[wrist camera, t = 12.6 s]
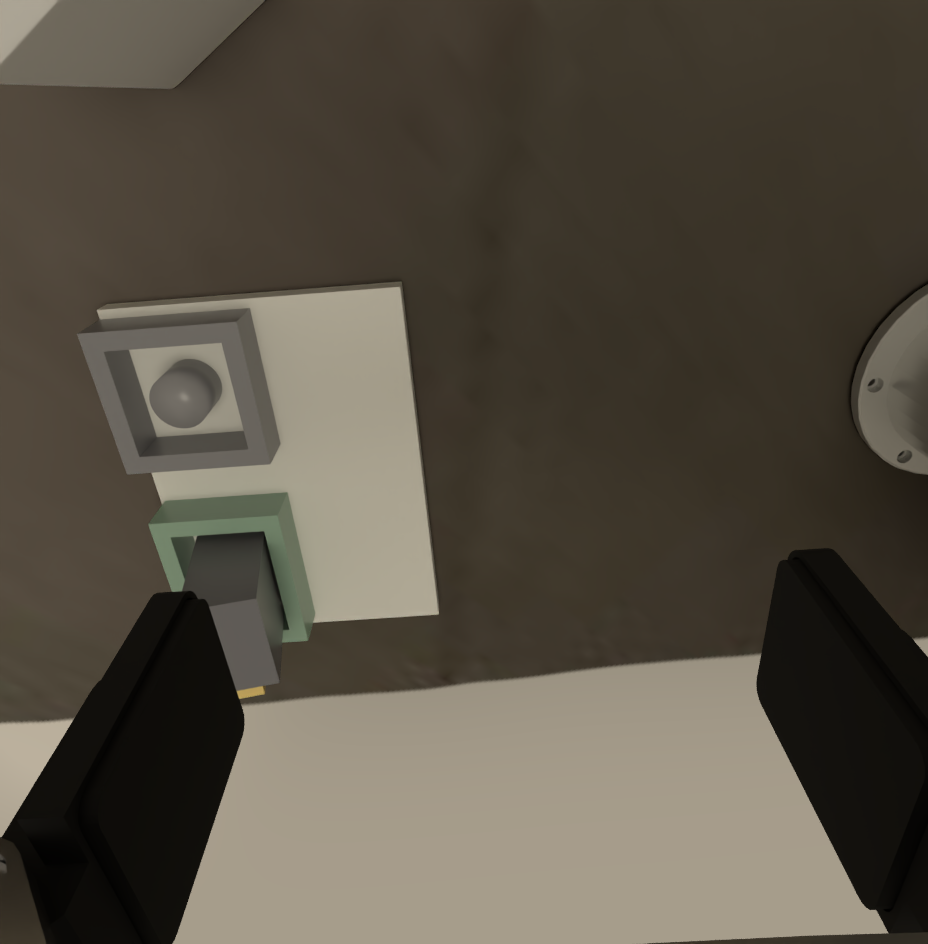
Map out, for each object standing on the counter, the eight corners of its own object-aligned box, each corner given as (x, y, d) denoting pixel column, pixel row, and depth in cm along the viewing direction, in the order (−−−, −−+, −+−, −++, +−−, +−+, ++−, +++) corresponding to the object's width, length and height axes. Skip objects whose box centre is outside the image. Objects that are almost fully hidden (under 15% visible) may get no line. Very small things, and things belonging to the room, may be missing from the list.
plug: (265, 517, 42) (256, 598, 35) (287, 603, 45) (282, 692, 38) (199, 528, 42) (175, 612, 35) (226, 614, 45) (209, 707, 38)
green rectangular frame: (287, 492, 41) (277, 515, 39) (315, 613, 46) (308, 640, 44) (165, 500, 41) (148, 524, 39) (205, 620, 46) (192, 648, 44)
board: (401, 281, 36) (396, 299, 33) (439, 602, 47) (438, 640, 44) (107, 304, 37) (73, 323, 34) (209, 617, 47) (191, 656, 44)
